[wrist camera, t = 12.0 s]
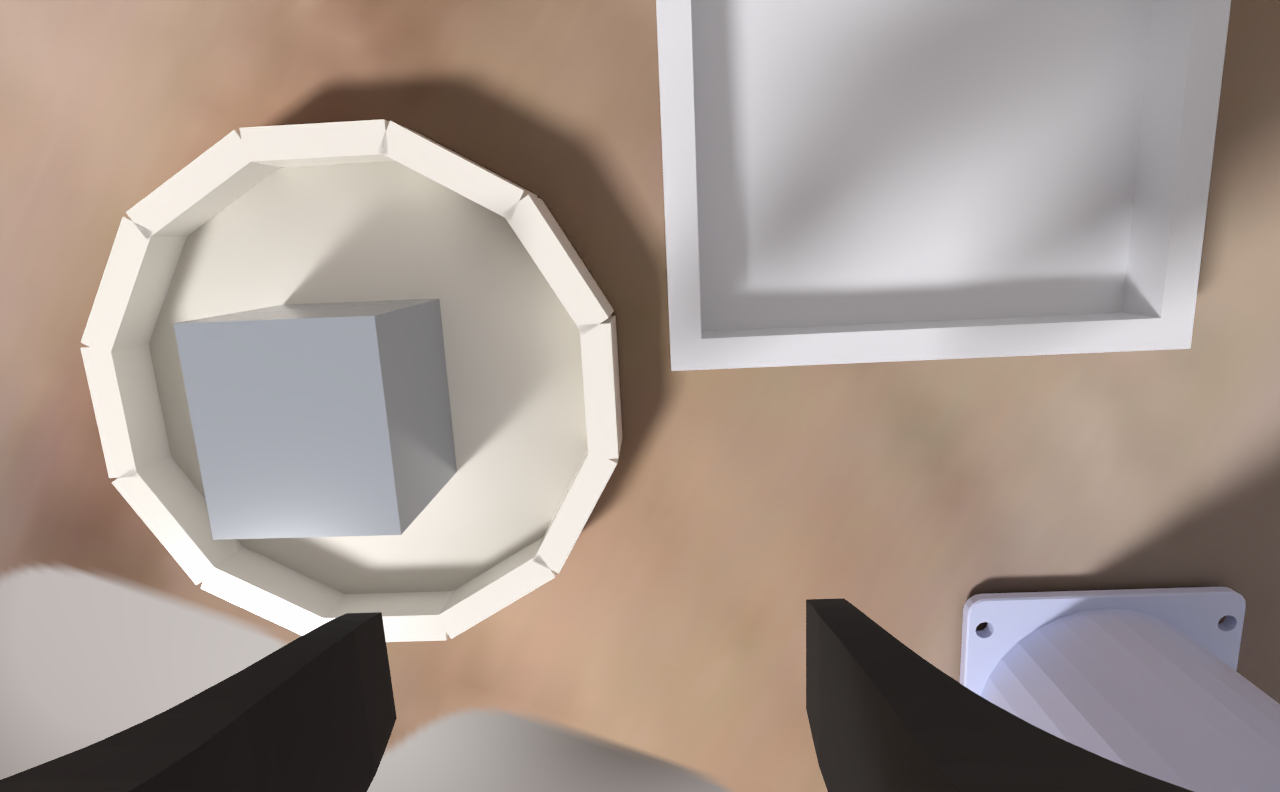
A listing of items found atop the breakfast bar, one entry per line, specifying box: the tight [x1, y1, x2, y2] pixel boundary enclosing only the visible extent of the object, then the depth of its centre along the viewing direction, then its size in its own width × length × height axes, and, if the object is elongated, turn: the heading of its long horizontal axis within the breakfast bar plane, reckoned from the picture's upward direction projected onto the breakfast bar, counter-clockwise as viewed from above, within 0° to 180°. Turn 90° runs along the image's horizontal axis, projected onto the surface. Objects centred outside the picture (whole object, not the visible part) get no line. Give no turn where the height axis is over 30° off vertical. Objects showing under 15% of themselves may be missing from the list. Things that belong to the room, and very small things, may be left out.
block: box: [173, 299, 457, 540], centre depth 18 cm, size 5×4×4 cm
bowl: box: [81, 119, 623, 642], centre depth 20 cm, size 14×14×2 cm
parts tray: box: [656, 0, 1231, 371], centre depth 18 cm, size 13×13×2 cm
